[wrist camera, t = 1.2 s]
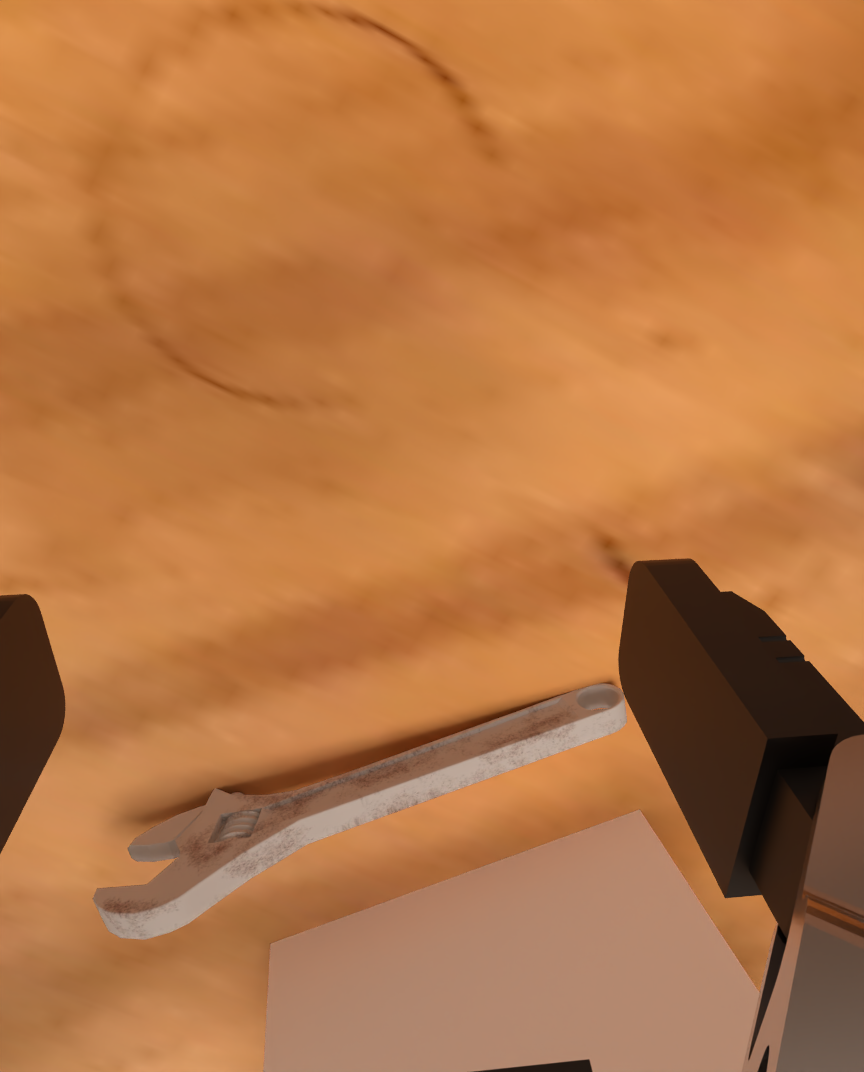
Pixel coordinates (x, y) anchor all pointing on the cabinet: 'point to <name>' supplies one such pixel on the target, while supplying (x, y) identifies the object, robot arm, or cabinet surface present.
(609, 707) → the wrench
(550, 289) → the cabinet surface
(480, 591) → the cabinet surface
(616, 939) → the cube
